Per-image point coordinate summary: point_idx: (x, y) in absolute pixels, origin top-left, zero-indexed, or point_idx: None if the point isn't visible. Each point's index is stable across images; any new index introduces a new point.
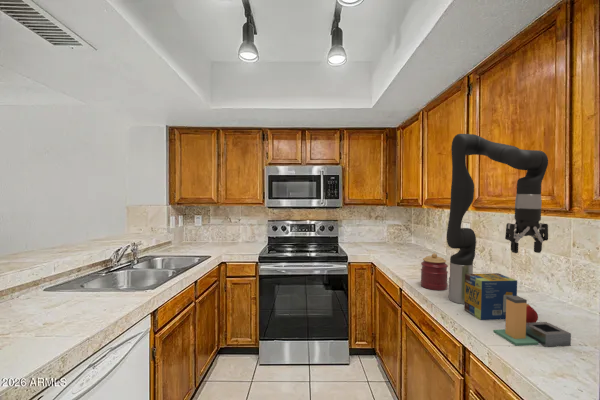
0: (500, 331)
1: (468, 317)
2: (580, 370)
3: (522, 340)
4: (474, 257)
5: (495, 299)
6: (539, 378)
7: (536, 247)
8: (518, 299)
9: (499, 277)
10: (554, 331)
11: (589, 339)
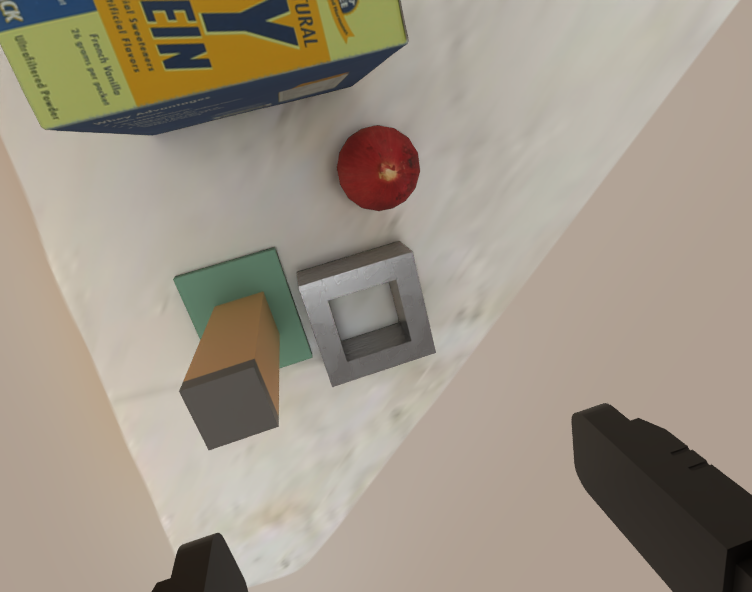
0: (199, 291)
1: None
2: (345, 479)
3: None
4: None
5: (220, 109)
6: None
7: (630, 500)
8: (231, 433)
9: None
10: (401, 311)
11: (524, 265)
